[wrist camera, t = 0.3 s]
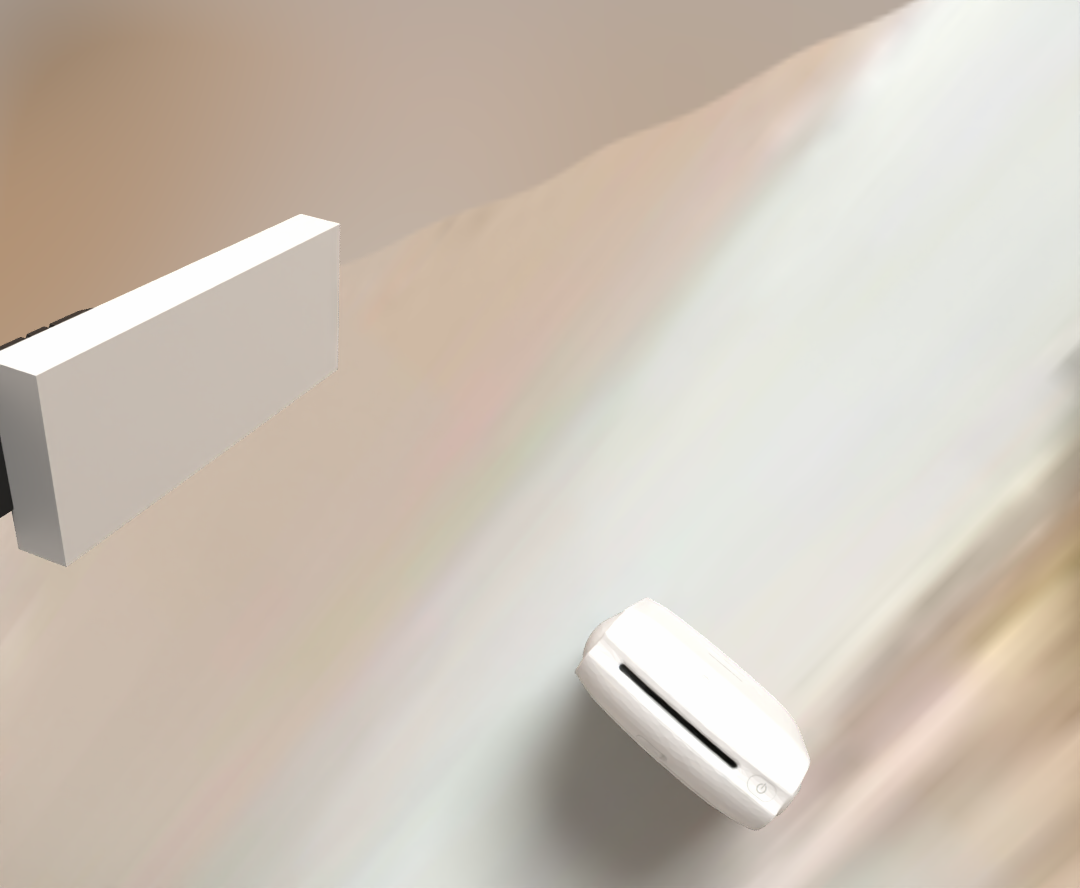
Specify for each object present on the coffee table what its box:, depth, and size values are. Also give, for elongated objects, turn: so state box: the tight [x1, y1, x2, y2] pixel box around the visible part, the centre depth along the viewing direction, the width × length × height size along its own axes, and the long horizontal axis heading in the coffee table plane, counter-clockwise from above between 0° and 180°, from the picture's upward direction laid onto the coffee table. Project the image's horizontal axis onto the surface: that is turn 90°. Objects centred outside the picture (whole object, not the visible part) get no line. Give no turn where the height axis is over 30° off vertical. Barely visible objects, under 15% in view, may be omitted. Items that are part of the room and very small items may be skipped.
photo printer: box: [575, 598, 810, 830], centre depth 43 cm, size 10×4×12 cm, turn 50°
